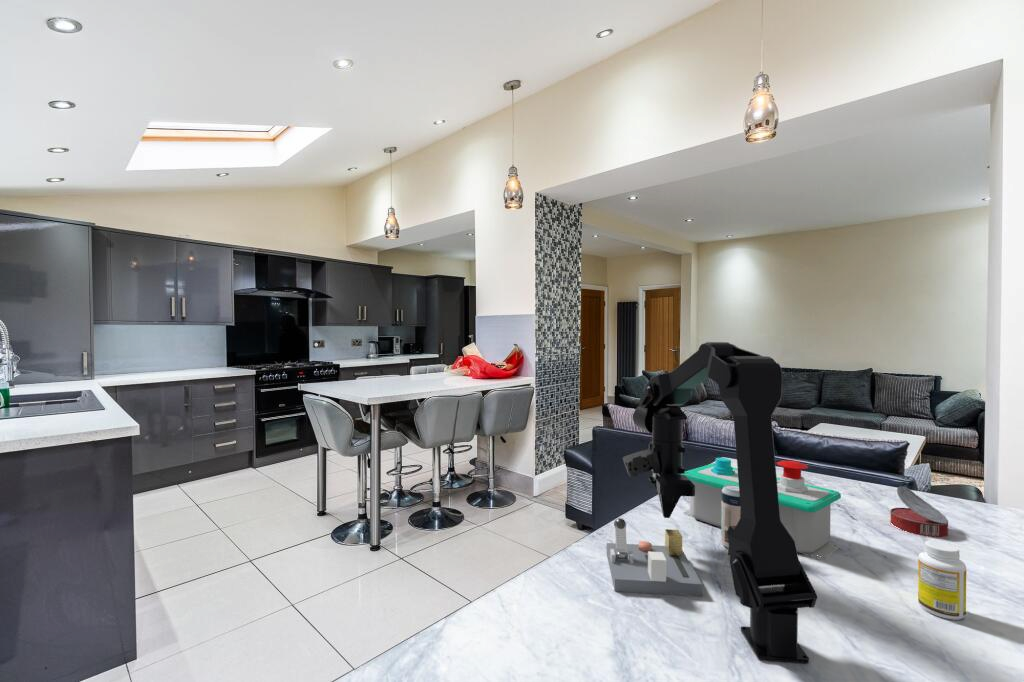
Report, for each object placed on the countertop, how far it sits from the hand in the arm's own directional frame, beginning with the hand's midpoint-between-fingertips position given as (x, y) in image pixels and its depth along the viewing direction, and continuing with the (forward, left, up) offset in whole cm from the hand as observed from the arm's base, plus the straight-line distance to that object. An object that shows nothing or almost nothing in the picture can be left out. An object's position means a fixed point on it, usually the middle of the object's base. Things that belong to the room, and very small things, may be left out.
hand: (666, 517), depth 95 cm
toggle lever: (-10, +10, -4) cm, 15 cm away
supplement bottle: (-17, -38, -6) cm, 42 cm away
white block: (-16, +5, -4) cm, 18 cm away
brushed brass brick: (-6, 0, -4) cm, 8 cm away
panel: (-10, +5, -6) cm, 13 cm away
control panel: (+13, -22, -7) cm, 26 cm away
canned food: (+18, -59, -7) cm, 62 cm away
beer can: (+3, -14, -6) cm, 16 cm away
